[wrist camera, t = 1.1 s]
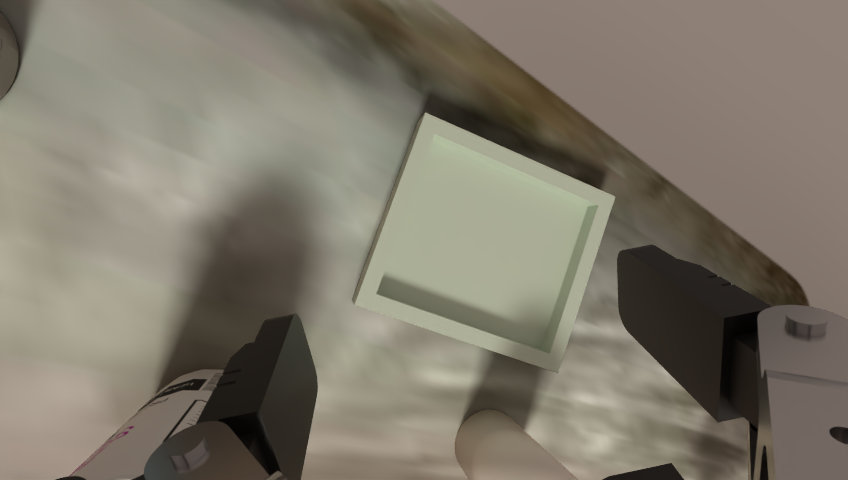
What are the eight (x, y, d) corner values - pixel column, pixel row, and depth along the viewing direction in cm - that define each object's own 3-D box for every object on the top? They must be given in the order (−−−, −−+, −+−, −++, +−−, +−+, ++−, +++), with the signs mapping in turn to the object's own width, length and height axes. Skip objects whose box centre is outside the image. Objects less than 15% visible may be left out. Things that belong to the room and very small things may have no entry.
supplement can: (265, 478, 34) (226, 657, 19) (140, 482, 32) (-7, 682, 18) (275, 368, 34) (244, 461, 20) (152, 365, 32) (16, 466, 18)
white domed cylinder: (445, 468, 37) (490, 549, 27) (468, 401, 38) (521, 457, 28) (506, 485, 38) (570, 568, 28) (527, 419, 39) (598, 479, 29)
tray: (352, 300, 35) (354, 304, 33) (418, 121, 37) (425, 112, 34) (542, 364, 39) (557, 373, 37) (597, 199, 40) (615, 196, 38)
